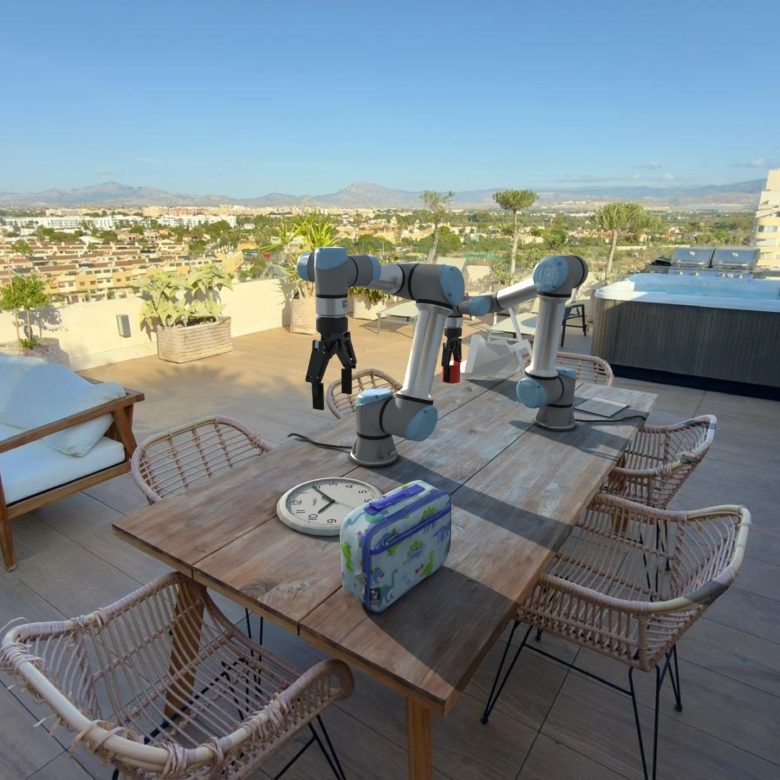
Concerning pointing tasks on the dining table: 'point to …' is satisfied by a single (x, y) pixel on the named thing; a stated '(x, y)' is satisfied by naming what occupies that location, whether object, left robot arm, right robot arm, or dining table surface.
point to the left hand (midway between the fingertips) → (333, 401)
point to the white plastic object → (494, 354)
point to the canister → (453, 372)
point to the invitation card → (601, 406)
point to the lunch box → (394, 543)
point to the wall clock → (323, 504)
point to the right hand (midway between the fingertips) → (450, 379)
